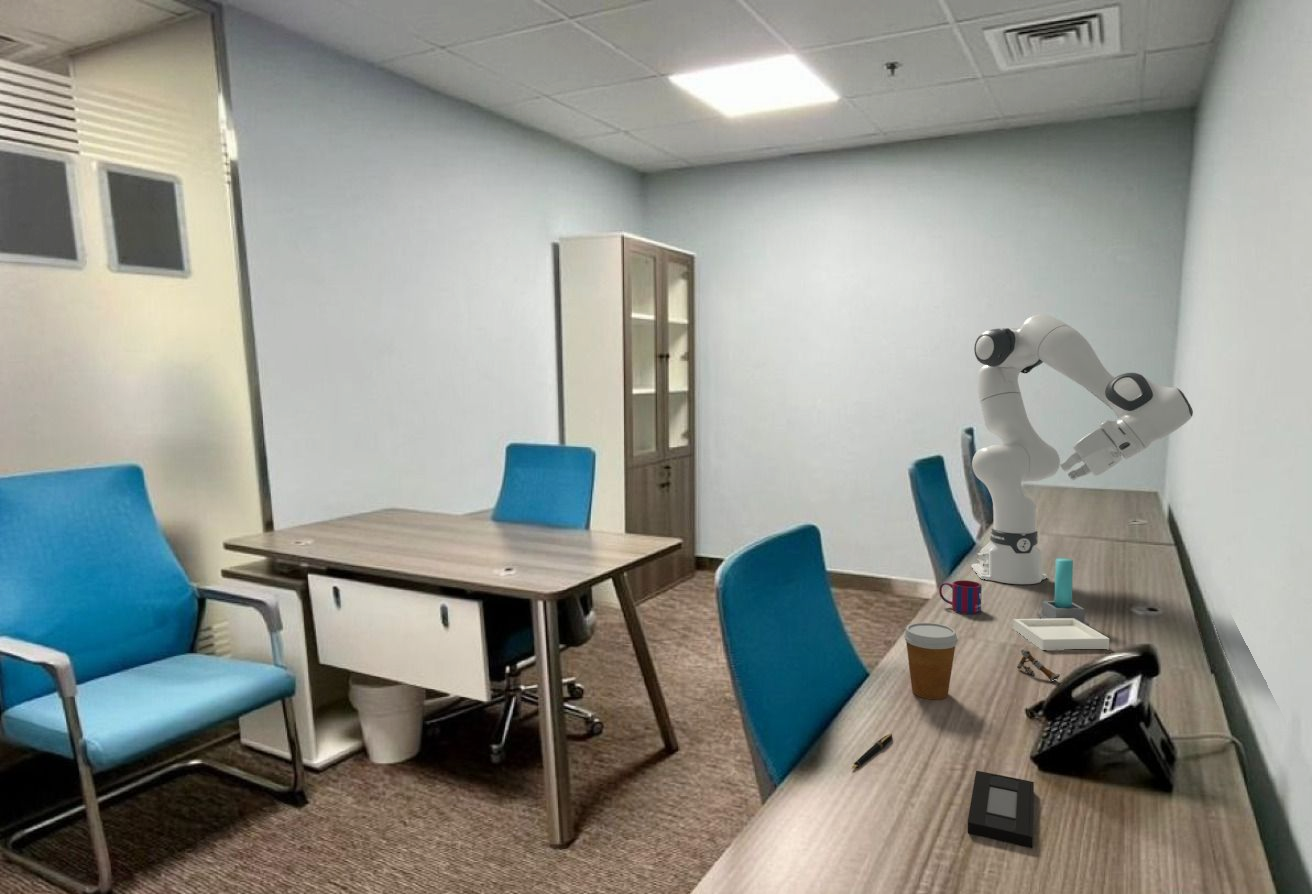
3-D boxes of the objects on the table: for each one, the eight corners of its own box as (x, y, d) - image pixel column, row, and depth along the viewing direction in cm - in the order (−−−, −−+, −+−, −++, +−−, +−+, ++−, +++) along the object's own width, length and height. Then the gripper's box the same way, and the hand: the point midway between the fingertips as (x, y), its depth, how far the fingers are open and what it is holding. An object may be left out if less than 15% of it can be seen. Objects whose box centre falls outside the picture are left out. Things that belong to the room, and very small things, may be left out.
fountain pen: (854, 774, 113) (854, 765, 113) (847, 772, 114) (847, 762, 114) (895, 739, 124) (895, 730, 124) (888, 737, 125) (888, 728, 124)
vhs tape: (967, 836, 98) (967, 822, 97) (975, 783, 110) (976, 770, 110) (1032, 852, 94) (1032, 836, 94) (1033, 795, 107) (1033, 781, 107)
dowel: (1051, 616, 182) (1052, 558, 181) (1066, 615, 182) (1067, 558, 181) (1058, 620, 178) (1060, 562, 177) (1074, 620, 178) (1076, 561, 177)
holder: (1037, 616, 184) (1037, 600, 184) (1070, 616, 184) (1071, 599, 184) (1054, 627, 176) (1054, 610, 176) (1088, 626, 176) (1089, 609, 176)
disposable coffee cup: (892, 687, 144) (892, 625, 143) (932, 679, 147) (933, 619, 146) (926, 707, 135) (927, 641, 134) (969, 698, 138) (970, 634, 137)
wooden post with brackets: (1016, 663, 153) (1025, 645, 151) (1051, 691, 147) (1060, 673, 145) (1011, 665, 152) (1020, 647, 150) (1045, 693, 146) (1055, 675, 144)
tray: (1012, 629, 175) (1012, 619, 175) (1073, 628, 175) (1074, 618, 175) (1042, 650, 162) (1042, 639, 161) (1109, 649, 161) (1109, 638, 161)
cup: (975, 616, 186) (975, 588, 185) (935, 608, 192) (935, 582, 192) (985, 609, 191) (985, 583, 190) (945, 602, 197) (946, 576, 197)
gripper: (1118, 441, 190) (1066, 472, 195) (1105, 418, 174) (1049, 452, 179) (1135, 461, 186) (1082, 492, 192) (1123, 439, 171) (1066, 473, 176)
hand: (1066, 473), depth 185 cm, fingers open, 8 cm apart
